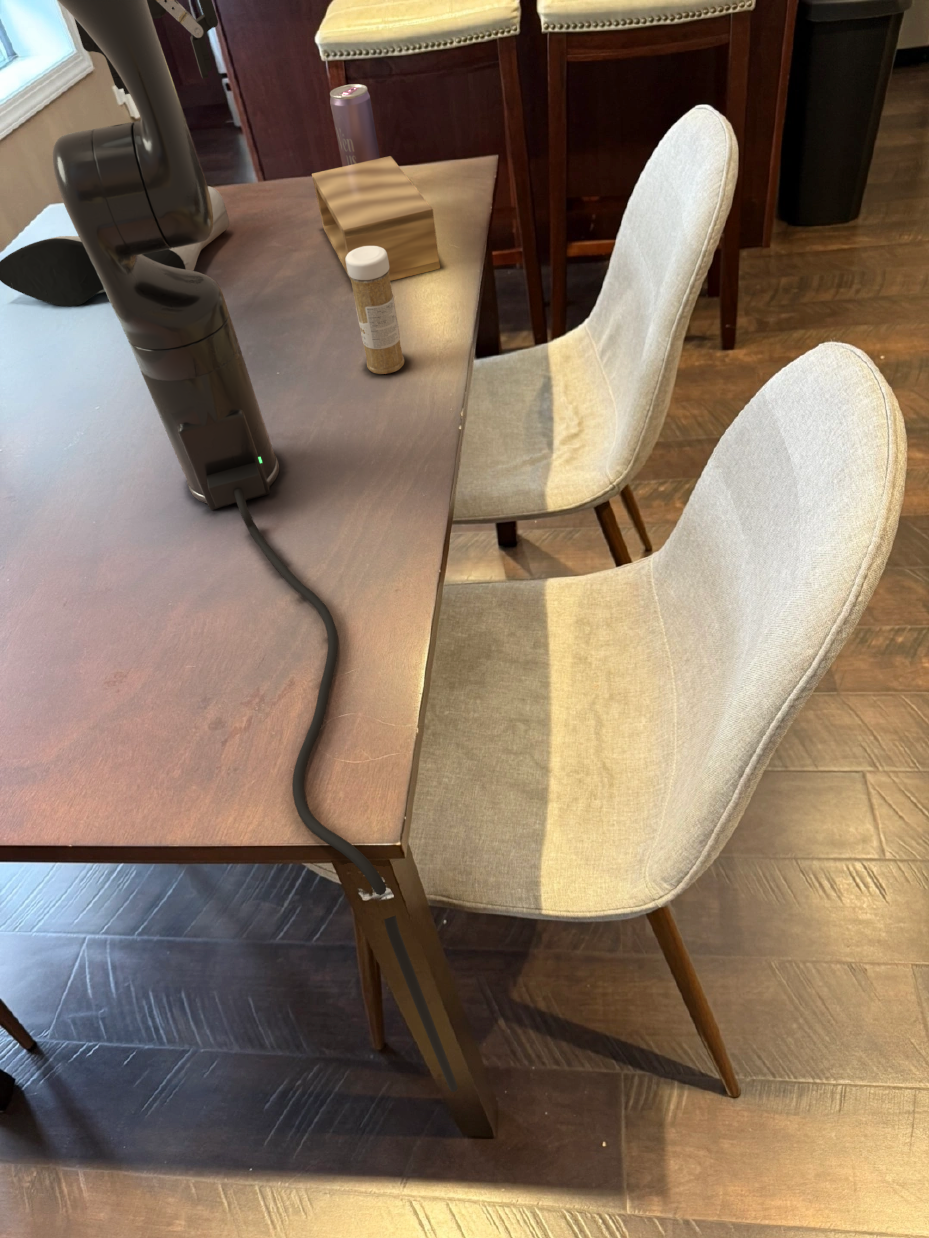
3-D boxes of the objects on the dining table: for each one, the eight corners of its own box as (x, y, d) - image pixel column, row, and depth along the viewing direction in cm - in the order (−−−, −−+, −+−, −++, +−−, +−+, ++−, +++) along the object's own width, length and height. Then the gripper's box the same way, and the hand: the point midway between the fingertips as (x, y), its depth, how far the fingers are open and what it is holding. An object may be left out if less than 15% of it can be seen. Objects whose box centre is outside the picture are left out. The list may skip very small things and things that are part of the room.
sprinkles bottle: (365, 359, 104) (343, 248, 94) (403, 352, 104) (384, 241, 94) (369, 379, 100) (345, 266, 91) (407, 372, 101) (388, 259, 91)
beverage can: (392, 190, 139) (376, 85, 128) (370, 205, 136) (352, 98, 125) (363, 186, 141) (344, 82, 130) (341, 200, 138) (320, 95, 127)
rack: (440, 268, 118) (432, 208, 112) (355, 289, 116) (343, 229, 111) (399, 211, 133) (390, 155, 127) (323, 229, 131) (311, 173, 125)
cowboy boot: (162, 250, 112) (234, 176, 129) (-27, 236, 116) (66, 166, 133) (181, 317, 119) (247, 239, 136) (2, 302, 123) (87, 228, 140)
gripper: (32, -88, 80) (103, 107, 92) (184, -115, 82) (235, 79, 94) (34, -96, 85) (101, 90, 97) (177, -120, 87) (226, 64, 99)
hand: (167, 85), depth 95 cm, fingers open, 8 cm apart
